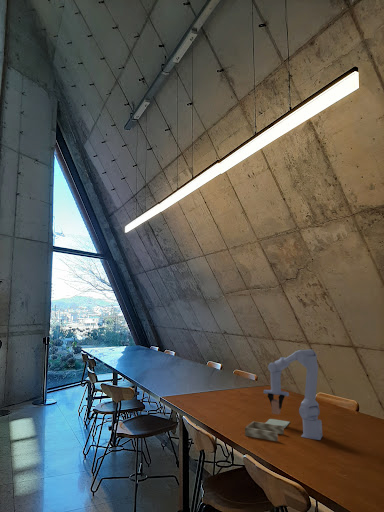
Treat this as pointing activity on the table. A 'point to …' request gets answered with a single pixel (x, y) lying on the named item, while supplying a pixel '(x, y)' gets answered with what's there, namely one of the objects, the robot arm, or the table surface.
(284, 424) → the mat
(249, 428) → the slot housing
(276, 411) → the terracotta block
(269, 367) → the robot arm
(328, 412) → the table surface
